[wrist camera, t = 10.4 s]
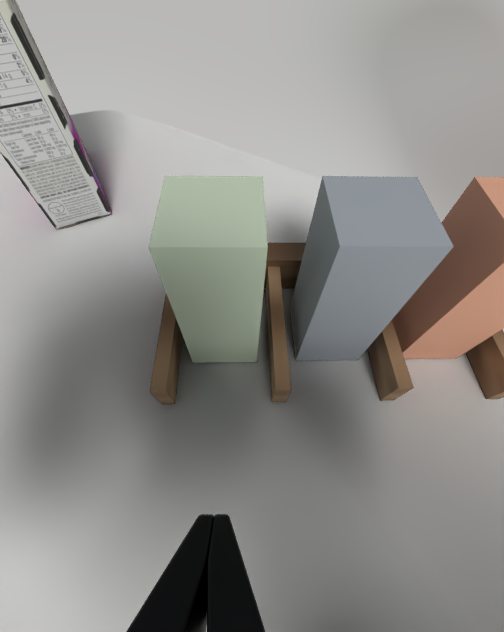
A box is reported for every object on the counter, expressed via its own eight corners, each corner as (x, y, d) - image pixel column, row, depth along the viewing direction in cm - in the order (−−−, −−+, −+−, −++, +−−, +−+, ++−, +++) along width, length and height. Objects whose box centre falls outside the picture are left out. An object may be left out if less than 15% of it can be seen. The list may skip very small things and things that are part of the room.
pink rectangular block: (456, 358, 19) (631, 245, 10) (395, 358, 19) (522, 245, 10) (435, 306, 21) (565, 177, 12) (380, 307, 21) (474, 176, 12)
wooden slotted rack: (499, 398, 18) (542, 382, 15) (161, 403, 17) (146, 387, 14) (439, 271, 23) (464, 243, 20) (179, 271, 22) (171, 242, 20)
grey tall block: (357, 359, 19) (453, 246, 10) (295, 360, 18) (339, 246, 10) (345, 307, 21) (417, 177, 12) (290, 307, 21) (322, 176, 12)
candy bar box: (36, 163, 29) (-157, -143, 15) (87, 151, 30) (-46, -141, 16) (53, 234, 24) (-213, -128, 10) (114, 216, 25) (-46, -127, 11)
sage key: (256, 361, 18) (267, 247, 10) (193, 362, 18) (148, 247, 10) (254, 308, 20) (262, 176, 12) (197, 309, 20) (164, 175, 12)
